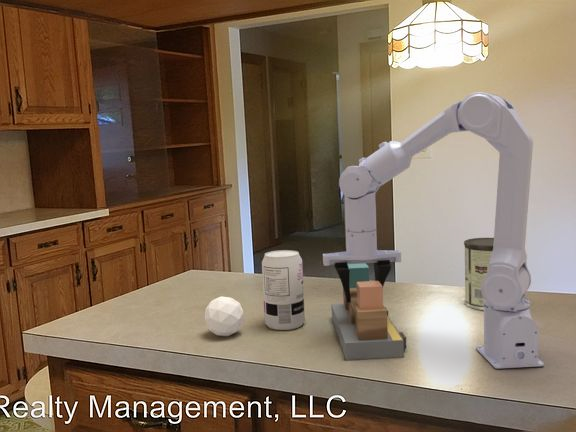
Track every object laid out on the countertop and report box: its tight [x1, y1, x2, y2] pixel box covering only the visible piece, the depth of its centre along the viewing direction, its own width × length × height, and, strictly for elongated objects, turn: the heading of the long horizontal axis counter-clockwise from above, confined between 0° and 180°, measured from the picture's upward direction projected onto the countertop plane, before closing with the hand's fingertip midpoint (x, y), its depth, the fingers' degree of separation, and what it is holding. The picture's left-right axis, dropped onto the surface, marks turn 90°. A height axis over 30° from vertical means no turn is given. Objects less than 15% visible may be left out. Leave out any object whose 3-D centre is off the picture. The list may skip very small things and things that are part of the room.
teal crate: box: [347, 263, 370, 288], centre depth 119 cm, size 4×4×4 cm
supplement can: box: [261, 249, 306, 331], centre depth 121 cm, size 8×8×15 cm
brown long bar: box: [342, 288, 388, 341], centre depth 112 cm, size 22×5×5 cm, turn 1°
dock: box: [330, 303, 407, 361], centre depth 113 cm, size 24×11×3 cm, turn 1°
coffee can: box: [463, 237, 494, 311], centre depth 129 cm, size 10×10×14 cm
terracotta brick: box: [356, 280, 384, 310], centre depth 104 cm, size 4×4×4 cm
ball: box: [204, 295, 245, 337], centre depth 117 cm, size 8×8×8 cm
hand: (362, 300), depth 112 cm, fingers open, 5 cm apart
